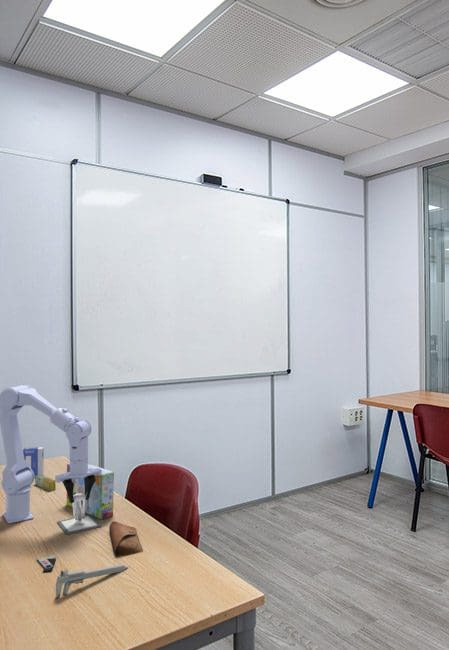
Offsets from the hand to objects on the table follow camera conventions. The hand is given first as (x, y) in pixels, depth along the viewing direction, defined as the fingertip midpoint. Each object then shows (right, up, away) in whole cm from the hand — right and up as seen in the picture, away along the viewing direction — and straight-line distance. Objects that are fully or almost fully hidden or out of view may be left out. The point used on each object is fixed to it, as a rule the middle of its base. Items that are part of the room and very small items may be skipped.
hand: (78, 500), depth 163 cm
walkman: (-34, -7, +51) cm, 62 cm away
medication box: (-24, -8, +36) cm, 44 cm away
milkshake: (+1, -7, 0) cm, 7 cm away
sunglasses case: (+18, -9, -12) cm, 23 cm away
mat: (0, -8, 0) cm, 8 cm away
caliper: (+14, -9, -35) cm, 39 cm away
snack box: (0, -8, +13) cm, 15 cm away
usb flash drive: (-2, -9, -26) cm, 28 cm away
